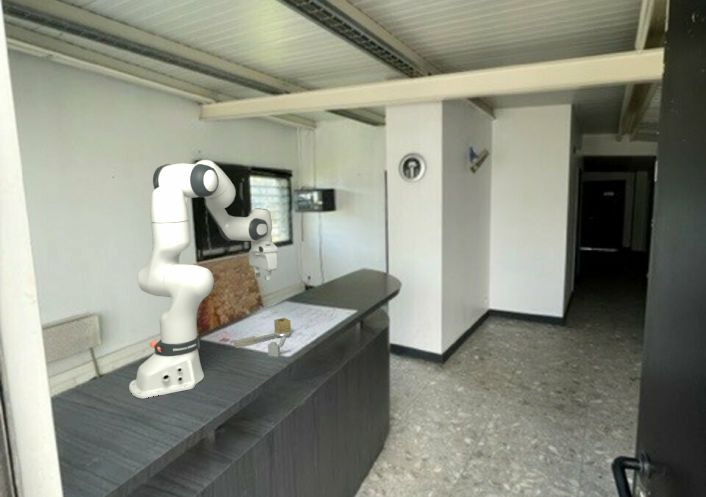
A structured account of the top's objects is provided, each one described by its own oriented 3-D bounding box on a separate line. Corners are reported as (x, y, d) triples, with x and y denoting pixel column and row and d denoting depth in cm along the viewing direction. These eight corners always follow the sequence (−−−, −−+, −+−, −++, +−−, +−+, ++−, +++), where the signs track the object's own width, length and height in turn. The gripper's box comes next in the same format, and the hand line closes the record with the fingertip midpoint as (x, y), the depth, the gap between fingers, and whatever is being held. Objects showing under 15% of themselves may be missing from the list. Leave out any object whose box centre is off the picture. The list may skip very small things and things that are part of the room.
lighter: (268, 355, 164) (267, 335, 163) (270, 354, 165) (269, 334, 164) (285, 357, 162) (284, 337, 161) (287, 356, 164) (286, 335, 162)
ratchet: (239, 349, 170) (238, 336, 170) (232, 344, 176) (231, 331, 175) (293, 336, 186) (293, 323, 185) (285, 332, 191) (285, 320, 191)
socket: (280, 334, 183) (280, 322, 182) (274, 331, 186) (274, 319, 186) (290, 331, 186) (290, 320, 185) (284, 328, 190) (284, 317, 189)
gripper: (244, 244, 191) (245, 275, 192) (265, 249, 175) (266, 282, 176) (258, 243, 194) (258, 274, 196) (279, 248, 178) (280, 281, 180)
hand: (262, 278), depth 186 cm, fingers open, 8 cm apart
